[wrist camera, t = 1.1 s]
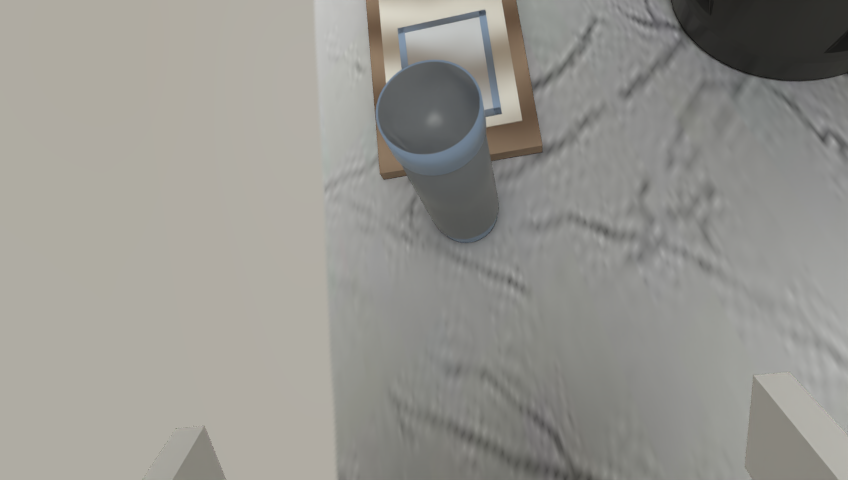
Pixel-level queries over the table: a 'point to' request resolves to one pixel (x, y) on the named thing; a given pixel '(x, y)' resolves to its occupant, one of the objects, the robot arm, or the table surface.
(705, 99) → the table surface
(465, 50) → the wooden board
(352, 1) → the table surface
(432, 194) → the cup
